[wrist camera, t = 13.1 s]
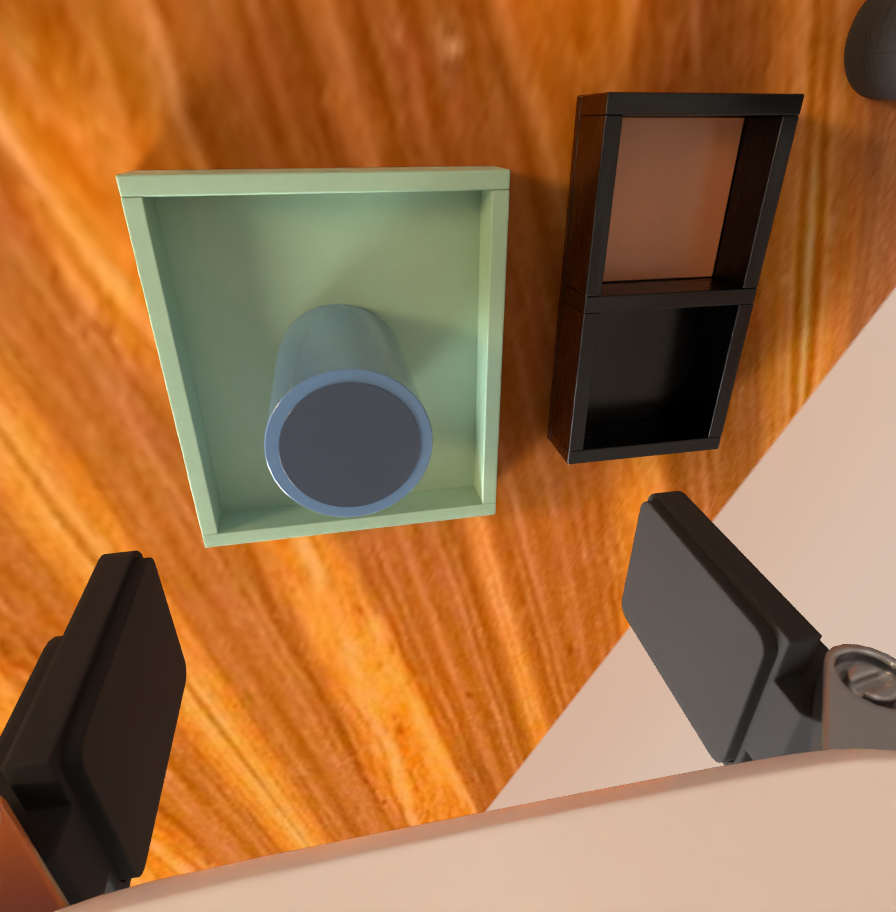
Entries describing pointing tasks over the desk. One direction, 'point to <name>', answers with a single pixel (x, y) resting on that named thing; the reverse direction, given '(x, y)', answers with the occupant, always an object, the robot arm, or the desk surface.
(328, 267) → the tray
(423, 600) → the desk surface
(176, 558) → the desk surface
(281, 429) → the blue cup
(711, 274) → the black divided tray
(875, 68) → the drinking cup
